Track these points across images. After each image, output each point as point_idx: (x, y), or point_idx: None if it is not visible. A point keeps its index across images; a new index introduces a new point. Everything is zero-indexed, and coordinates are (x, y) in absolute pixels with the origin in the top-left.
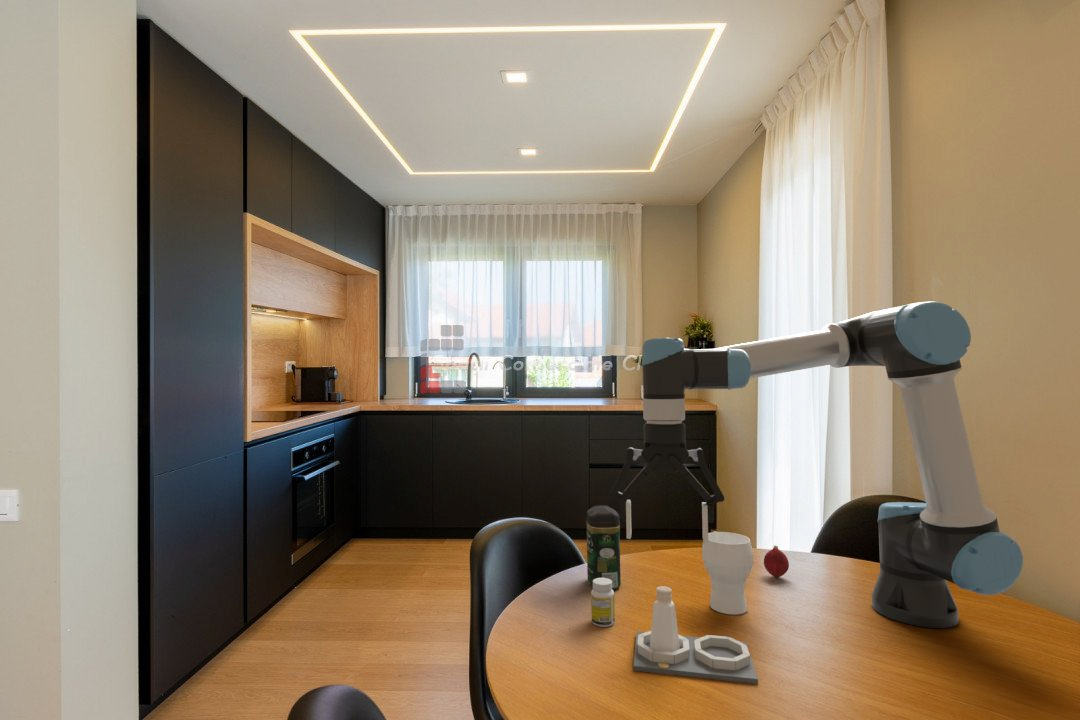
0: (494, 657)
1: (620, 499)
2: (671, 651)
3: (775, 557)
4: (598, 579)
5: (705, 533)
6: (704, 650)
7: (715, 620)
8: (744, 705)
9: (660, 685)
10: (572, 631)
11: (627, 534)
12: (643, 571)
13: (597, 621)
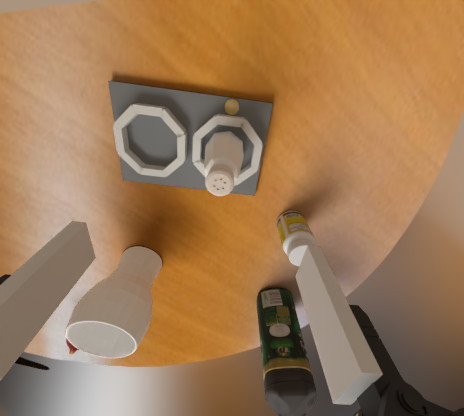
0: (458, 123)
1: (418, 397)
2: (217, 134)
3: None
4: None
5: (60, 239)
6: (174, 154)
7: (158, 233)
8: (130, 15)
9: (241, 64)
10: (332, 198)
11: (321, 255)
12: (227, 325)
13: (300, 214)
